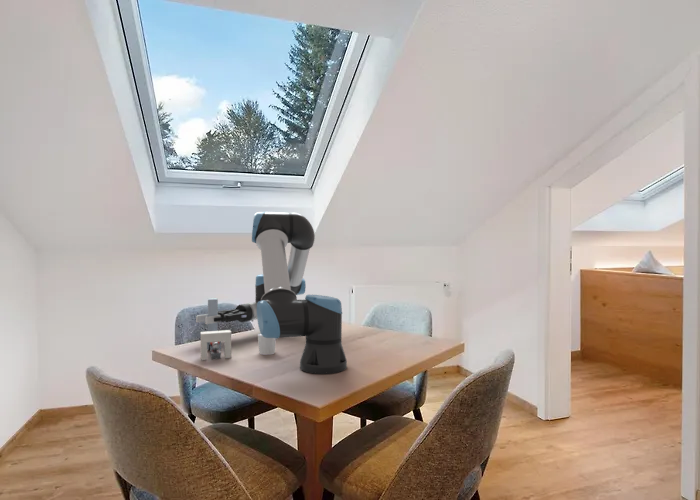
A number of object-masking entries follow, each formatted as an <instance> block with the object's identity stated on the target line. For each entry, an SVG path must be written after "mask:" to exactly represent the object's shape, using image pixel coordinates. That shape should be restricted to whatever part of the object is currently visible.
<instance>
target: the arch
mask: <svg viewBox="0 0 700 500" xmlns="http://www.w3.org/2000/svg"><path fill="white" fill-rule="evenodd" d="M206 331H207V332H206ZM206 331H200V361H207V360H208V350H207V342H221V343H222V342H223V344H224V347H223V349H224V350H223V351H224V353H223V354H224V358H225V359H231V358H232V331H231V330H230V329H225V330H219V331H208V330H206Z"/></svg>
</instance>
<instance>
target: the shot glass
mask: <svg viewBox="0 0 700 500" xmlns="http://www.w3.org/2000/svg"><path fill="white" fill-rule="evenodd" d="M276 341H277V339H275V338H265V337H263V336H262V335H261V333H257V343H258V345H257V346H258V354H259V355H264V356H268V355H269V356H270V355H273V354H275V353H276V343H277V342H276Z"/></svg>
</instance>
